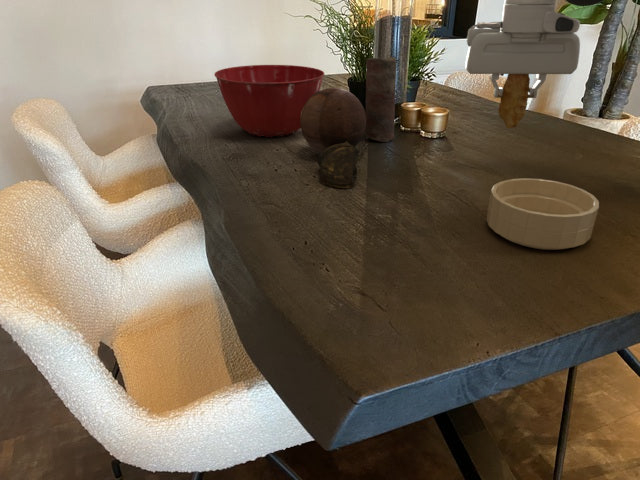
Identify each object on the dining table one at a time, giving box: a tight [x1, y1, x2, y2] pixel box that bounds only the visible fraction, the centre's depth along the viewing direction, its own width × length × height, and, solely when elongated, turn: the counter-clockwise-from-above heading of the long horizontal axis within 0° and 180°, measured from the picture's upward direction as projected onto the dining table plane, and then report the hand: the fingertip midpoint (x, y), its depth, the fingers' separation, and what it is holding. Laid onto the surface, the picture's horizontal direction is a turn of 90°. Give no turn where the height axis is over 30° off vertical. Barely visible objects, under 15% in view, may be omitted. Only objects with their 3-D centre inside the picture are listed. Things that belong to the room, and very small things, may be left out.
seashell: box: [317, 141, 360, 189], centre depth 101 cm, size 16×9×7 cm, turn 179°
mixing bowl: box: [213, 64, 326, 138], centre depth 130 cm, size 28×28×15 cm
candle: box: [364, 56, 397, 143], centre depth 121 cm, size 8×7×20 cm
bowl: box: [486, 177, 600, 251], centre depth 77 cm, size 15×15×6 cm
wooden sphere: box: [300, 87, 366, 154], centre depth 111 cm, size 15×15×15 cm
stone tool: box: [498, 74, 531, 129], centre depth 97 cm, size 5×2×15 cm, turn 80°
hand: (514, 97), depth 97 cm, fingers closed on stone tool, 5 cm apart
